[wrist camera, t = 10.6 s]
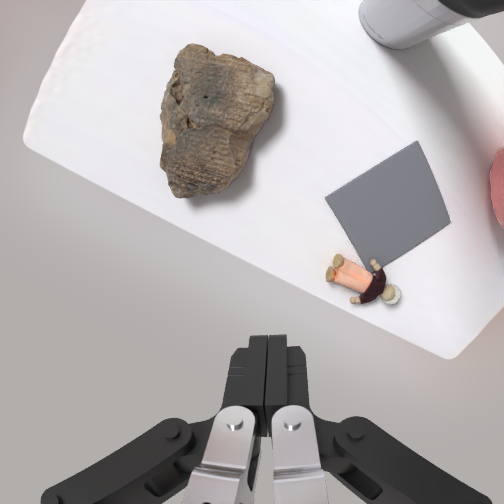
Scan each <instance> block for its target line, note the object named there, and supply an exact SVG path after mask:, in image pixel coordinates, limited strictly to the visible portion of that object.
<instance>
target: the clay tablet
mask: <svg viewBox="0 0 504 504" xmlns="http://www.w3.org/2000/svg"><path fill="white" fill-rule="evenodd" d="M174 68H175V69H176V71H175V70H174V72H173V75H172V77H171V79H170V81H169V82H168V84H167V89H166V91H165V94H164V98H163V101H162V104H161V110H162V112H161V114H160V119H161V122H162V140H163V146H162V147H163V150H162V154H161V159H160V167H161V168H162V169H163V170H164V171H165V172H166V174H167V177H168V185H169V186H170V189H171V191H172V193H173V194H174V196H175V197H176V198H190V197H193V196H195V195H197V194H205V195H208V194H209V193H217V192H220V191H222V190H223V189H225V188H226V187H228V186H229V184H230V183H231V181H232V179H236V178H237V176H238V175H239V174H240V172H241V171H242V169H243V168H244V165H245V163H246V161H247V160H248V156H249V152H250V150H251V147H252V144H253V139H254V137H255V136H256V134H257V132H258V131H259V130H260V128H261V127H262V125H263V124H264V121H265V120H267V119H268V118H269V115H270V113H271V111H272V108H273V106H274V92H273V86H274V83H275V79H274V76H273V74H272V73H270V72H267V71H265V70H264V69H262V68H261V67H259V66H257V65H254V64H252V63H250V62H249V61H247V60H246V59H244V58H242V57H241V58H237V57H235V56H233V55H229V54H222V55H220V56H215V54H214V53H213V52H212V51H211V50H208V48H206V47H204V46H202V45H197V44H188V45H187V46H186V47H185V48H184V49H182V50H181V51H180V52H179V53H178V55H177V57H176V59H175V63H174Z"/></svg>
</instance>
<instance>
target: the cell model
mask: <svg viewBox="0 0 504 504" xmlns="http://www.w3.org/2000/svg"><path fill="white" fill-rule="evenodd" d="M489 178H490V184H491V200H492V205H493V209H494V212H495V215H496V218H497V220H498V222H499V224H500V225H501V227H502V228H503V229H504V145H503V146H502V147H501V148H500V149H499V150H498V151H497V153H496V156H495V160H494V163H493V165H492V168H491V171H490V175H489Z"/></svg>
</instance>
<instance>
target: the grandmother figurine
mask: <svg viewBox="0 0 504 504" xmlns="http://www.w3.org/2000/svg"><path fill="white" fill-rule="evenodd" d="M370 264H371V266H373V268H374V270H375V273H376V276H374V275H372V274H371V273H370V272H369V271H367V270H365V269H364V268H362V267H360V266H359V265H357V264H355V263H353V262H351V261H349V260H347V259H345V258H343V257H342V255H341V254H336V255H335V257H334V260H333V265H334V267H335V268H336V269H335V271H334V269H333V268H332V267H331V266H330V267H329V268H328V270H327V272H326V282H330V281H334V282H336V283H338V284H340V285H343V286H345V287H348V288H350V289H353V290H355V291H358V292H361V293H362V294H361V295H360V296H359V297H351V298H350V303H352V304H354V303H361V304H363V303H367V302H370V301H373V300H374V299H376V297H377V296H378V295H379V294H380V297H381V298H382V301H383V302H384V303H385V304H388V305H393V304H396V303H397V302H398V301H399V299H400V297H401V290H400V289H399V288H398V287H397V286H396V285H395V284H392V283H391V284H389V285H385V282H386V277H385V273H384V271H383V269H382V267H381V266H380V265H379V264H378V263H377V262H376V260H375V259H372V260H371V261H370Z"/></svg>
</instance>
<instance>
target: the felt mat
mask: <svg viewBox="0 0 504 504" xmlns="http://www.w3.org/2000/svg"><path fill="white" fill-rule="evenodd" d="M325 199H326V201H327V202H328V204H329V205H330V207H331V209H332V210H333V212H334V214H335V215H336V217H337V219H338V220H339V222H340V223H341V225H342V227H343V229H344V230H345V232H346V234H347V235H348V237H349V239H350V240H351V242H352V244H353V246H354V247H355V249H356V251H357V253H358V255H359V256H360V258H361V260H362V262H363V264H364V265H365V267H366V269H367V271H369V272H370V273H373V272H374V271H375V270H374V268H373V266H371V264H370V261H371V260H372V259H375V260H376V262H377V263H378V264H379V265H380V266H381V267H383V266H384V265H386V264H388V263H389V262H391V261H392V260H394V259H396V258H397V257H399V256H400V255H402V254H404V253H405V252H407V251H408V250H410V249H411V248H413V247H415V246H416V245H418V244H419V243H421V242H422V241H424V240H425V239H427V238H428V237H430V236H431V235H433V234H434V233H436V232H437V231H439V230H440V229H442V228H443V227H445V226H446V225H447V224H449V223H450V222H451V221H450V218H449V215H448V212H447V209H446V206H445V204H444V201H443V198H442V196H441V193H440V190H439V188H438V185H437V183H436V180H435V178H434V175H433V173H432V171H431V168H430V166H429V164H428V162H427V159H426V157H425V155H424V153H423V151H422V149H421V146H420V144H419V142H418V141H415V142H414V143H412V144H410V145H409V146H407V147H405V148H404V149H402V150H401V151H399V152H397V153H396V154H394V155H392V156H391V157H389V158H388V159H386V160H384V161H383V162H381V163H379V164H378V165H376V166H375V167H373V168H371V169H370V170H368V171H367V172H365V173H363V174H362V175H360V176H359V177H357V178H355V179H354V180H352V181H351V182H349V183H347V184H346V185H344V186H343V187H341V188H339V189H338V190H336V191H334V192H333V193H331V194H330V195H328V196H327V197H325Z"/></svg>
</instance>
